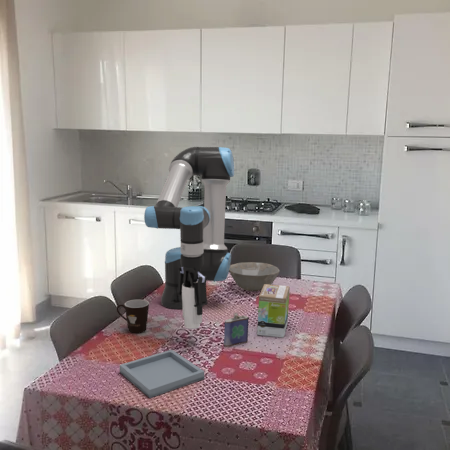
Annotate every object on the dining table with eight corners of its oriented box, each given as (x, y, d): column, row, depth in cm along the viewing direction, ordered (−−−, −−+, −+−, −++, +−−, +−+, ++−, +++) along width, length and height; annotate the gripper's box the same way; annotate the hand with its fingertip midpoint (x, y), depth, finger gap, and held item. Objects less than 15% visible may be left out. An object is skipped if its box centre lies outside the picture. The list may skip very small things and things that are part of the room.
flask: (226, 347, 167) (226, 317, 165) (221, 344, 170) (222, 314, 168) (249, 342, 172) (250, 312, 170) (244, 339, 174) (245, 309, 172)
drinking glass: (194, 332, 166) (194, 289, 162) (178, 327, 169) (177, 285, 166) (206, 325, 171) (206, 283, 168) (189, 321, 175) (189, 280, 171)
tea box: (285, 338, 175) (286, 297, 173) (256, 335, 177) (257, 295, 175) (288, 322, 190) (289, 285, 187) (262, 320, 192) (263, 283, 189)
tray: (119, 372, 149) (119, 364, 149) (171, 356, 160) (171, 349, 159) (149, 398, 135) (149, 389, 135) (204, 378, 146) (204, 371, 145)
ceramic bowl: (280, 298, 217) (281, 275, 215) (227, 297, 218) (228, 274, 216) (276, 282, 239) (277, 262, 237) (228, 281, 239) (228, 261, 237)
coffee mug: (154, 330, 181) (154, 303, 179) (134, 336, 175) (134, 309, 173) (134, 321, 188) (134, 296, 187) (115, 327, 182) (114, 301, 180)
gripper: (166, 249, 170) (167, 313, 175) (199, 262, 155) (199, 332, 160) (185, 246, 174) (185, 308, 179) (218, 258, 159) (218, 326, 164)
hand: (192, 319), depth 170 cm, fingers closed on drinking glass, 6 cm apart
